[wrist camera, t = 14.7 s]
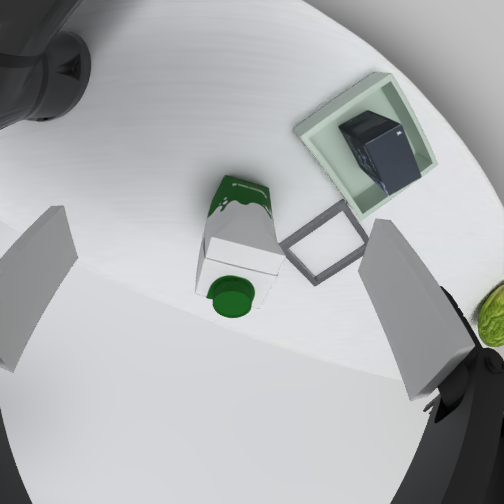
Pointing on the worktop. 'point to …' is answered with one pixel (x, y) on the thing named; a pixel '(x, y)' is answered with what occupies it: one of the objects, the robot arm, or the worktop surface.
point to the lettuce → (492, 319)
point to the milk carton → (238, 249)
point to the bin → (338, 151)
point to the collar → (310, 228)
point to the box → (381, 150)
